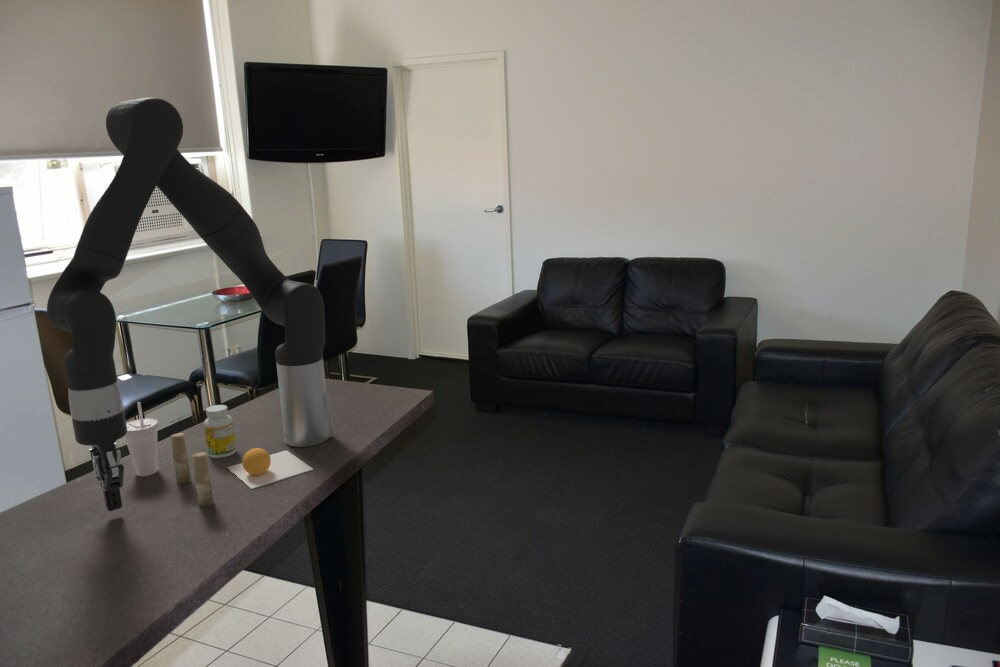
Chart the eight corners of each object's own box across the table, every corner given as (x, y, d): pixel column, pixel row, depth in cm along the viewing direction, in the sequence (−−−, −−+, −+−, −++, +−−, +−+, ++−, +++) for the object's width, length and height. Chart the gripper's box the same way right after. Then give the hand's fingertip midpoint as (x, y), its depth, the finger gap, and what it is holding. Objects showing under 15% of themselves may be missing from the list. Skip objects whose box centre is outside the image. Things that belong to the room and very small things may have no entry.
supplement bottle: (237, 455, 149) (231, 410, 146) (208, 460, 147) (202, 414, 144) (235, 446, 153) (230, 401, 151) (207, 450, 152) (201, 406, 149)
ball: (258, 439, 142) (234, 454, 139) (268, 447, 138) (243, 462, 135) (268, 461, 144) (245, 475, 141) (279, 468, 140) (255, 483, 137)
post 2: (210, 499, 131) (204, 451, 128) (215, 503, 129) (209, 455, 127) (196, 503, 129) (189, 455, 127) (201, 508, 127) (194, 459, 125)
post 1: (188, 477, 140) (182, 432, 137) (192, 481, 138) (186, 435, 136) (175, 480, 138) (168, 435, 136) (179, 485, 136) (172, 439, 134)
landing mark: (286, 451, 150) (286, 450, 150) (313, 469, 141) (313, 468, 141) (227, 468, 143) (226, 467, 143) (251, 489, 134) (251, 488, 134)
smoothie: (151, 480, 139) (140, 409, 135) (120, 478, 140) (109, 407, 136) (172, 466, 145) (162, 397, 141) (143, 463, 146) (132, 395, 142)
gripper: (133, 415, 118) (149, 514, 122) (112, 395, 128) (127, 488, 132) (80, 427, 114) (99, 530, 118) (63, 405, 123) (80, 501, 128)
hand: (114, 507), depth 125 cm, fingers closed
